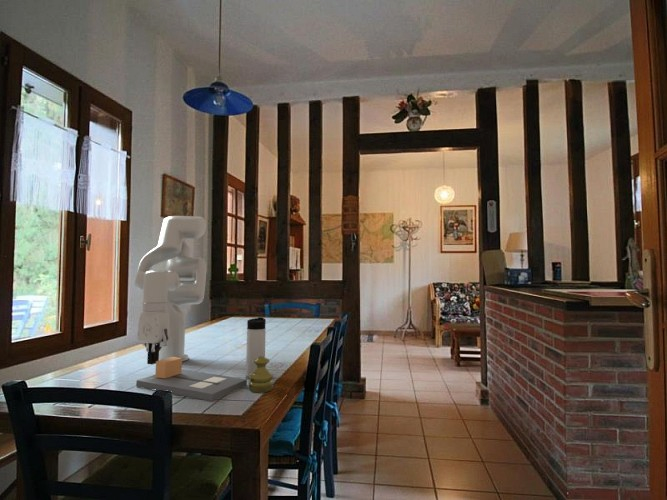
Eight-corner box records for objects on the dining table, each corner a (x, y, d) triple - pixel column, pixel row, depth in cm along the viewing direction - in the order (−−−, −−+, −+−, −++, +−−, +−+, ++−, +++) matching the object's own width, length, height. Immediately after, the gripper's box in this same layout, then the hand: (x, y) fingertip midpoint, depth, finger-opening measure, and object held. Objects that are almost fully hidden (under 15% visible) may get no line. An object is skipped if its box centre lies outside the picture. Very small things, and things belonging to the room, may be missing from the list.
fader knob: (155, 377, 124) (155, 361, 124) (172, 371, 130) (173, 356, 130) (164, 378, 122) (165, 362, 122) (181, 373, 129) (182, 358, 129)
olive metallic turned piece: (259, 384, 125) (260, 353, 125) (277, 388, 121) (278, 355, 122) (243, 390, 119) (244, 357, 119) (262, 394, 115) (262, 360, 115)
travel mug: (268, 375, 135) (269, 317, 136) (258, 380, 129) (260, 320, 129) (252, 373, 137) (253, 316, 138) (242, 378, 131) (243, 319, 132)
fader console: (136, 386, 121) (136, 379, 121) (176, 373, 136) (176, 367, 136) (211, 401, 109) (212, 393, 109) (246, 385, 123) (246, 378, 123)
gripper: (129, 307, 129) (127, 363, 128) (162, 309, 123) (160, 368, 122) (148, 306, 136) (146, 359, 135) (180, 307, 130) (178, 363, 129)
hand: (153, 363), depth 129 cm, fingers closed
